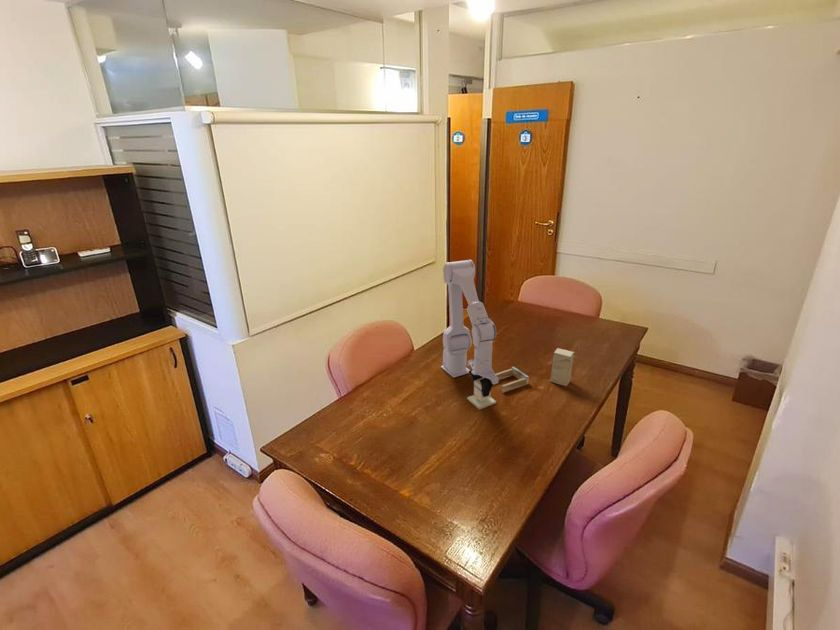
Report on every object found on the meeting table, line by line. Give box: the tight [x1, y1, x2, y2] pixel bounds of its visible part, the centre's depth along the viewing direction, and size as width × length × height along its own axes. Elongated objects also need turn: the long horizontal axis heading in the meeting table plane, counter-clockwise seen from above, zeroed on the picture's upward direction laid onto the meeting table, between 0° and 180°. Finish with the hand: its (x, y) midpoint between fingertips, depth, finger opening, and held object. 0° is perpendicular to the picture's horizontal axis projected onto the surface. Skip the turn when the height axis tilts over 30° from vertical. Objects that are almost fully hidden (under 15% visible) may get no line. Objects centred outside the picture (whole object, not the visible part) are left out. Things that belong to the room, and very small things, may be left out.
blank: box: [473, 377, 492, 401], centre depth 149 cm, size 4×4×6 cm
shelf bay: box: [495, 366, 530, 394], centre depth 161 cm, size 8×12×3 cm
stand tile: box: [466, 394, 497, 410], centre depth 151 cm, size 7×7×1 cm
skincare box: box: [549, 347, 575, 387], centre depth 159 cm, size 6×4×12 cm
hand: (481, 392), depth 150 cm, fingers closed on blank, 4 cm apart
